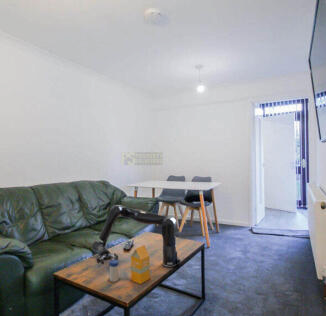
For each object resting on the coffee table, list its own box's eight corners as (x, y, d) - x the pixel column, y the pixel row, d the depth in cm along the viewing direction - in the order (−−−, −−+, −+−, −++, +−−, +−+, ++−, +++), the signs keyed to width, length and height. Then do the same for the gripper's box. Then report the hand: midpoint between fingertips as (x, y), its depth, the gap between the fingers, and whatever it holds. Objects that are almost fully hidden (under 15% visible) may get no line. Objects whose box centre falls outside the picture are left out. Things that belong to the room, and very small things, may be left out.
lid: (117, 262, 155) (117, 259, 155) (119, 265, 150) (119, 262, 150) (108, 263, 153) (108, 260, 153) (110, 267, 148) (110, 264, 148)
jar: (117, 276, 155) (116, 260, 155) (119, 280, 150) (119, 263, 150) (108, 278, 153) (108, 261, 153) (110, 282, 148) (110, 264, 148)
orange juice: (131, 280, 151) (130, 247, 151) (140, 275, 157) (139, 243, 158) (140, 284, 146) (140, 250, 146) (149, 278, 152) (149, 246, 153)
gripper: (94, 249, 173) (99, 258, 158) (113, 246, 179) (120, 254, 164) (94, 260, 173) (99, 269, 158) (113, 257, 178) (120, 265, 163)
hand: (109, 262), depth 161 cm, fingers open, 8 cm apart
